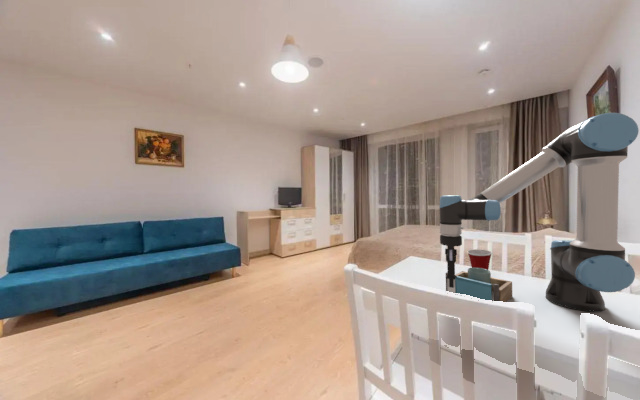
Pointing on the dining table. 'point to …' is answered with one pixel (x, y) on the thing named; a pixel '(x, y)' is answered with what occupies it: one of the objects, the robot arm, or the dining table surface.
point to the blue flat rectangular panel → (473, 288)
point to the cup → (479, 274)
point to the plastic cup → (479, 258)
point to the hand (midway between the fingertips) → (451, 294)
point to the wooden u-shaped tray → (494, 287)
